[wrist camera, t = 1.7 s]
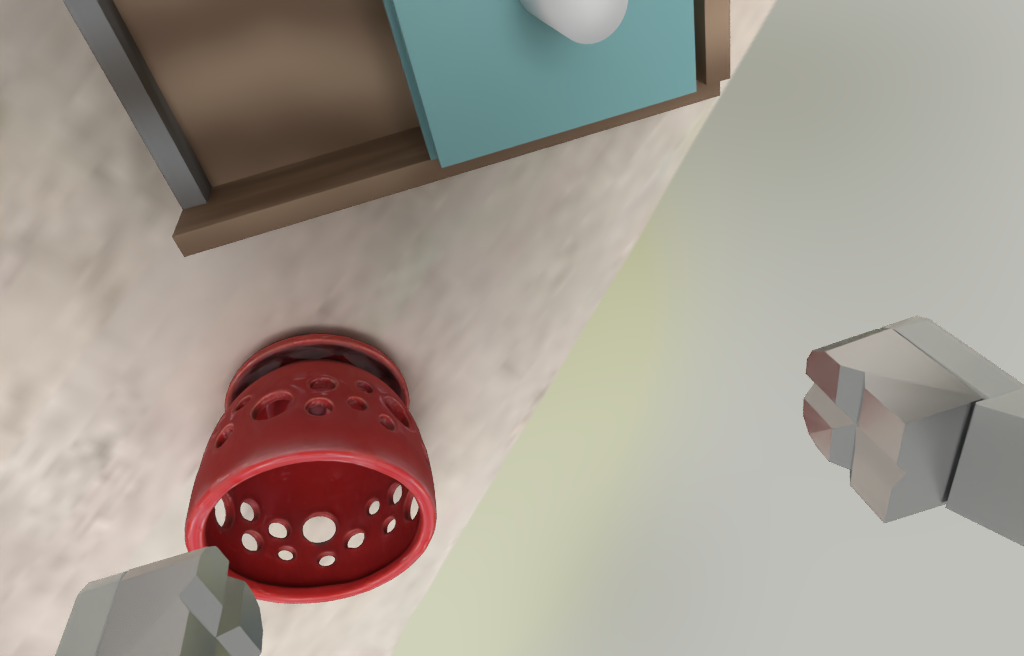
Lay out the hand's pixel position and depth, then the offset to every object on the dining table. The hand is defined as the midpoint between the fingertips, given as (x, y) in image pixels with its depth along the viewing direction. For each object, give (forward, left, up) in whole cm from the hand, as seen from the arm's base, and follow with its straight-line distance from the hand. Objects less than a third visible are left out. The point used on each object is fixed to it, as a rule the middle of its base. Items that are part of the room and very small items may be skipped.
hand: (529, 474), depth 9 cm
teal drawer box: (-2, +7, -28) cm, 29 cm away
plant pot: (+21, -11, -30) cm, 38 cm away
